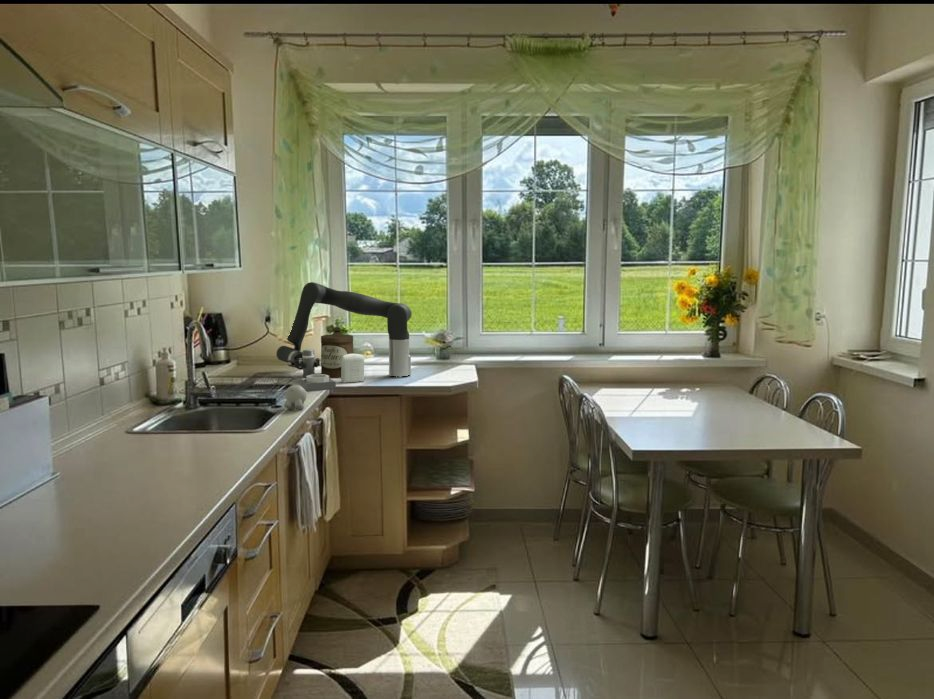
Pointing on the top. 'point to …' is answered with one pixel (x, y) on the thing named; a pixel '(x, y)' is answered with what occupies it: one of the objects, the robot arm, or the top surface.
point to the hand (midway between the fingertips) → (310, 365)
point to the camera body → (317, 382)
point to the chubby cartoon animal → (295, 397)
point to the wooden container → (334, 352)
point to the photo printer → (352, 368)
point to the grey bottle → (308, 363)
